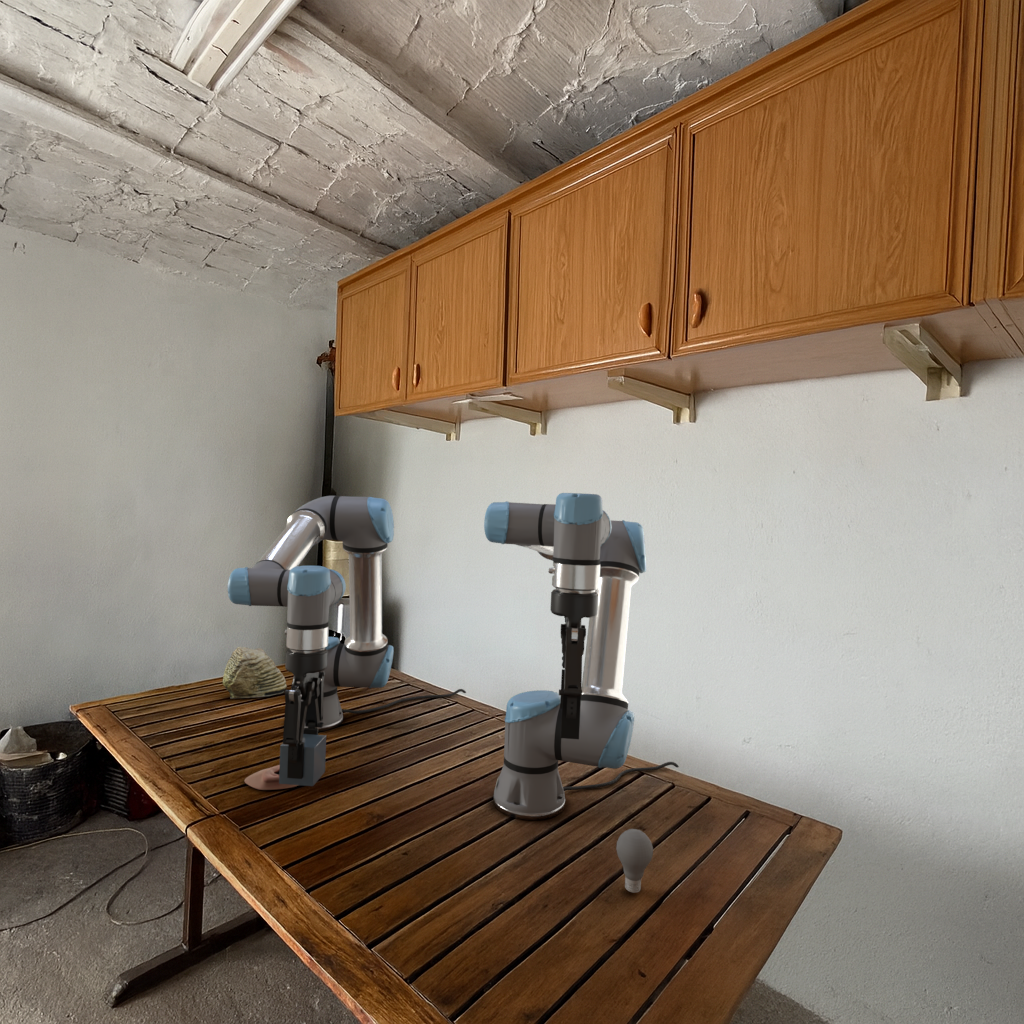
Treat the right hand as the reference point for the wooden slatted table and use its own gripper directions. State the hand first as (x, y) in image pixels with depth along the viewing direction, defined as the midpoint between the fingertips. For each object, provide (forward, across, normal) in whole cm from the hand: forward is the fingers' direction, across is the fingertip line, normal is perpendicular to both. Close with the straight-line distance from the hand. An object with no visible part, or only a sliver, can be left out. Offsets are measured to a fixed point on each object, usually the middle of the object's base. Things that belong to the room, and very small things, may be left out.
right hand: (568, 722), depth 101 cm
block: (+19, -15, -49) cm, 55 cm away
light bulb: (+29, -5, +12) cm, 32 cm away
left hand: (+18, -15, -49) cm, 54 cm away
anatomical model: (+29, -35, -62) cm, 77 cm away
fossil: (+29, -90, -95) cm, 134 cm away
